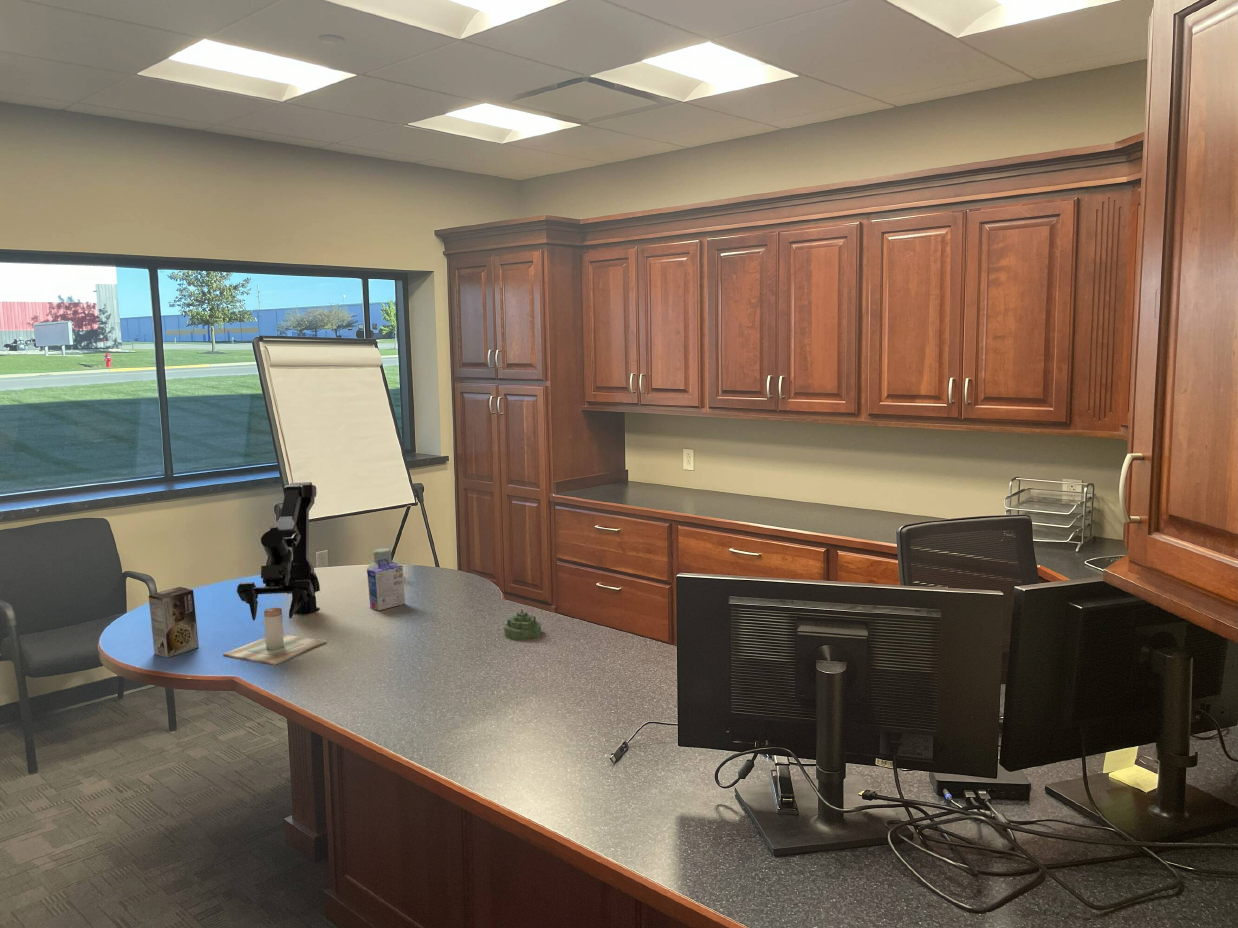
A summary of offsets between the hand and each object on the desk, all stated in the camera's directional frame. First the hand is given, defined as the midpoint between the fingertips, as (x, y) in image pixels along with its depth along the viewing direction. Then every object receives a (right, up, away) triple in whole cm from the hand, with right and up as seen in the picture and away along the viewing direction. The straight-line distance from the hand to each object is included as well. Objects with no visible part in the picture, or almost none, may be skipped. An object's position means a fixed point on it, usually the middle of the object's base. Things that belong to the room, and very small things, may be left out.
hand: (271, 618), depth 236 cm
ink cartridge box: (+20, -3, +40) cm, 45 cm away
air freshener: (+10, +1, +73) cm, 74 cm away
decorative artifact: (+65, -7, +11) cm, 66 cm away
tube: (0, -8, +2) cm, 8 cm away
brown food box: (-26, -9, +3) cm, 28 cm away
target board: (0, -9, +3) cm, 9 cm away
